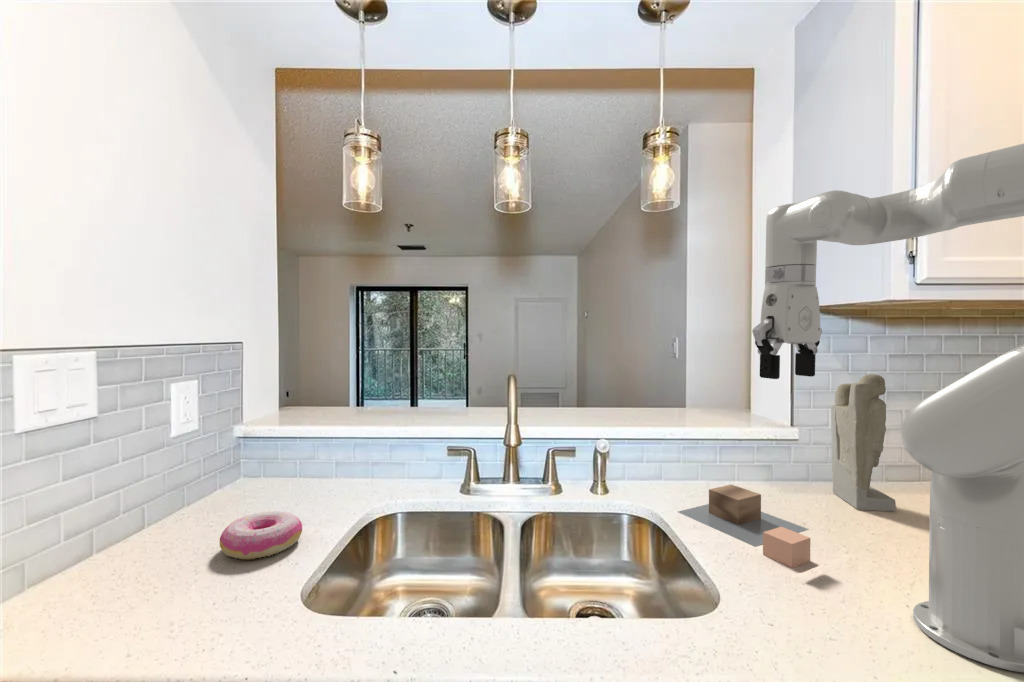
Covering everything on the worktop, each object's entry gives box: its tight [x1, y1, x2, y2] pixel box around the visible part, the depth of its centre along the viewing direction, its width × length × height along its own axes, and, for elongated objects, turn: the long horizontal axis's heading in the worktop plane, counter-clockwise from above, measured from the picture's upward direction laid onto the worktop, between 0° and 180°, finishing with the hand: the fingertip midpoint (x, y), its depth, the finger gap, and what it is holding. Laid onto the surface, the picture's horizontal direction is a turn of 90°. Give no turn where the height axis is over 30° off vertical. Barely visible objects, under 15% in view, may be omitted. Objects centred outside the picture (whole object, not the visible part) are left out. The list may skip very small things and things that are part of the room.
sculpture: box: [830, 373, 897, 512], centre depth 104 cm, size 15×8×30 cm, turn 168°
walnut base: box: [708, 484, 762, 525], centre depth 95 cm, size 7×7×5 cm
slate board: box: [677, 503, 809, 548], centre depth 93 cm, size 18×16×1 cm
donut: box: [219, 510, 303, 560], centre depth 84 cm, size 14×13×5 cm
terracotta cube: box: [762, 527, 811, 569], centre depth 77 cm, size 5×5×5 cm
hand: (787, 376), depth 79 cm, fingers open, 9 cm apart
